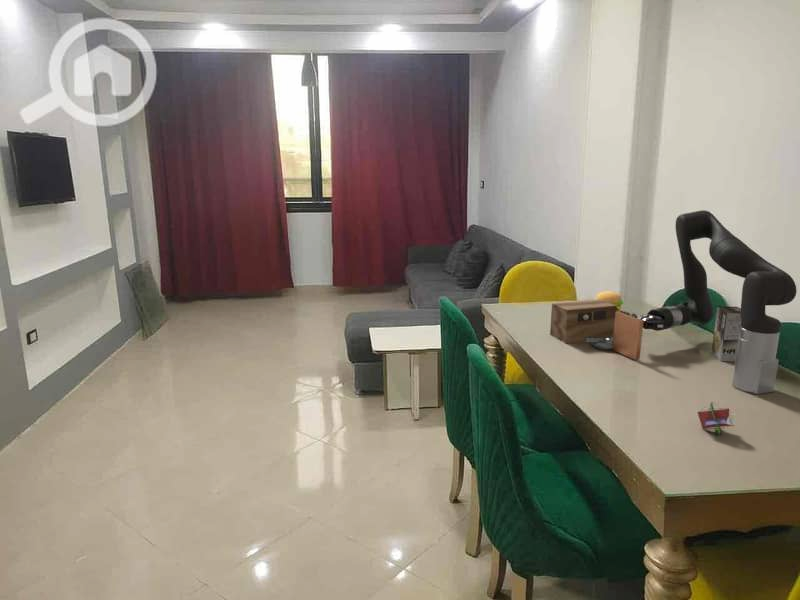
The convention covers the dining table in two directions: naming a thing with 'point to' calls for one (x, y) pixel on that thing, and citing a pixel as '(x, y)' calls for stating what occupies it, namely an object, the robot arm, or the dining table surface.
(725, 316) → the coffee box
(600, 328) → the wooden box
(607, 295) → the hamburger
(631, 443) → the dining table surface
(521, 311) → the dining table surface
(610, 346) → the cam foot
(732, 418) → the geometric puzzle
